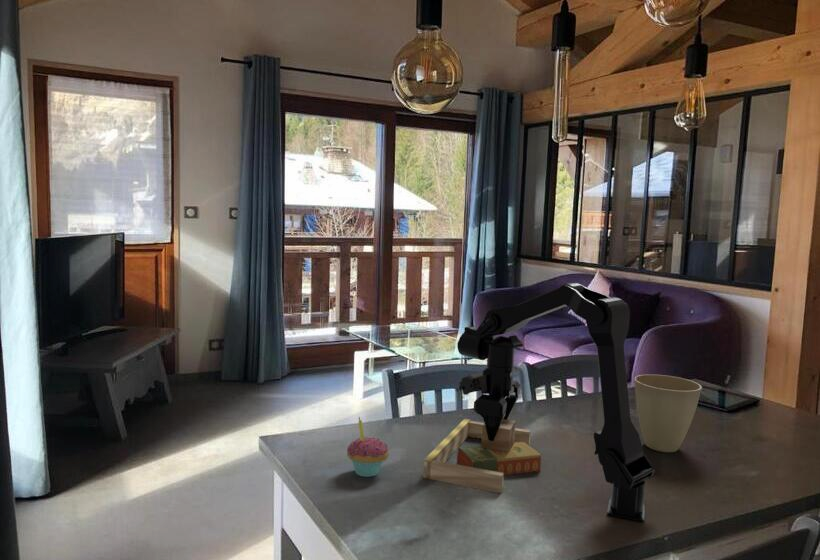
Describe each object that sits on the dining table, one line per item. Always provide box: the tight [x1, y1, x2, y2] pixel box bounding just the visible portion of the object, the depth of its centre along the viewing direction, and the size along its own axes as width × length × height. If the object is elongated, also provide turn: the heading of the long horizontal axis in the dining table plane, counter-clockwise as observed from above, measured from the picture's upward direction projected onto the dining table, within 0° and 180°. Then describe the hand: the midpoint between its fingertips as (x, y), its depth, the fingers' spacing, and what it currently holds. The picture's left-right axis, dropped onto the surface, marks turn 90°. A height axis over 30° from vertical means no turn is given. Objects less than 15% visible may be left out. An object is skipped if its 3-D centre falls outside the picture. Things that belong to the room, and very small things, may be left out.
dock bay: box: [422, 418, 532, 494], centre depth 145 cm, size 29×16×4 cm, turn 159°
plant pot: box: [634, 374, 703, 453], centre depth 157 cm, size 15×15×16 cm
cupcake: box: [346, 416, 389, 478], centre depth 136 cm, size 9×8×12 cm
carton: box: [456, 442, 542, 475], centre depth 142 cm, size 8×16×4 cm, turn 107°
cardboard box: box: [481, 419, 516, 452], centre depth 144 cm, size 6×6×5 cm
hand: (496, 433), depth 145 cm, fingers open, 9 cm apart
